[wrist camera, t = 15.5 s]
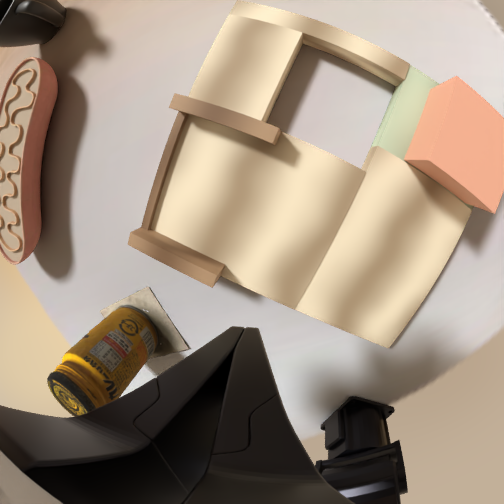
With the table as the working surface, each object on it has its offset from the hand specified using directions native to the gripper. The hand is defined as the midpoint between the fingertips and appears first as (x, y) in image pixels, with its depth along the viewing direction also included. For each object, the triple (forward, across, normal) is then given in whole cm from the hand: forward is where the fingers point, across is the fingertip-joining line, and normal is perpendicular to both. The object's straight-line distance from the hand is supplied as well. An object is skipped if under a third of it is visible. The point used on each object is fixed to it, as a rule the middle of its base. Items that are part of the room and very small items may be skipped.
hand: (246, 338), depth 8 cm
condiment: (+13, +14, +10) cm, 22 cm away
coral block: (+11, -13, -7) cm, 18 cm away
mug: (+14, +24, -27) cm, 39 cm away
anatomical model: (+14, +27, -10) cm, 32 cm away
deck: (+13, -4, -4) cm, 14 cm away
